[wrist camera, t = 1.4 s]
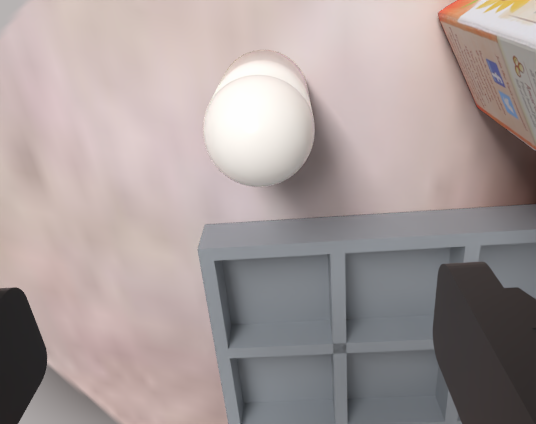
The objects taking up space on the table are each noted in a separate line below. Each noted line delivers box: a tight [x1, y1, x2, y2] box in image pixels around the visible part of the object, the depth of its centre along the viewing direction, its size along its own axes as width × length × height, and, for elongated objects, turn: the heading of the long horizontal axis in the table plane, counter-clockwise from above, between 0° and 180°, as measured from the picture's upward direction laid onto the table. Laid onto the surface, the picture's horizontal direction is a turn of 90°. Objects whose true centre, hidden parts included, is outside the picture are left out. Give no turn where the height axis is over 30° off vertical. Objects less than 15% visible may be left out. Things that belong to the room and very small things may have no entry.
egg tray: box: [198, 204, 536, 424], centre depth 30 cm, size 22×15×3 cm
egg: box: [203, 50, 315, 187], centre depth 22 cm, size 5×5×8 cm
